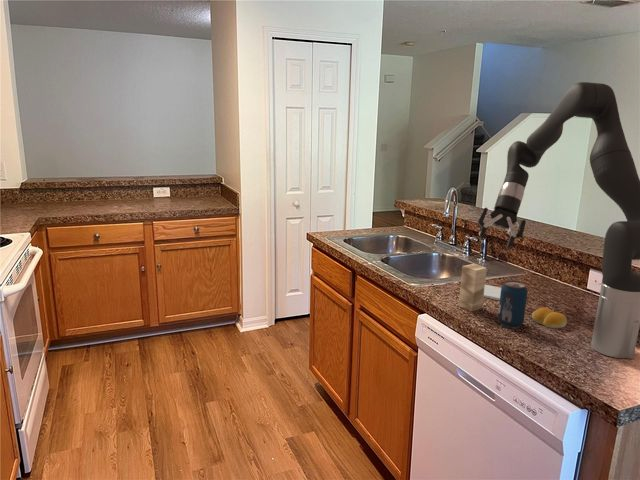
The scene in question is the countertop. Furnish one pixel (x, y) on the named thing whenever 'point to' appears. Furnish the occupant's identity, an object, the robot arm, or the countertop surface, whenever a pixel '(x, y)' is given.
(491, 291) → the ceramic tile
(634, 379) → the countertop surface
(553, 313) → the bread roll
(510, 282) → the soda can
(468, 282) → the maple block
